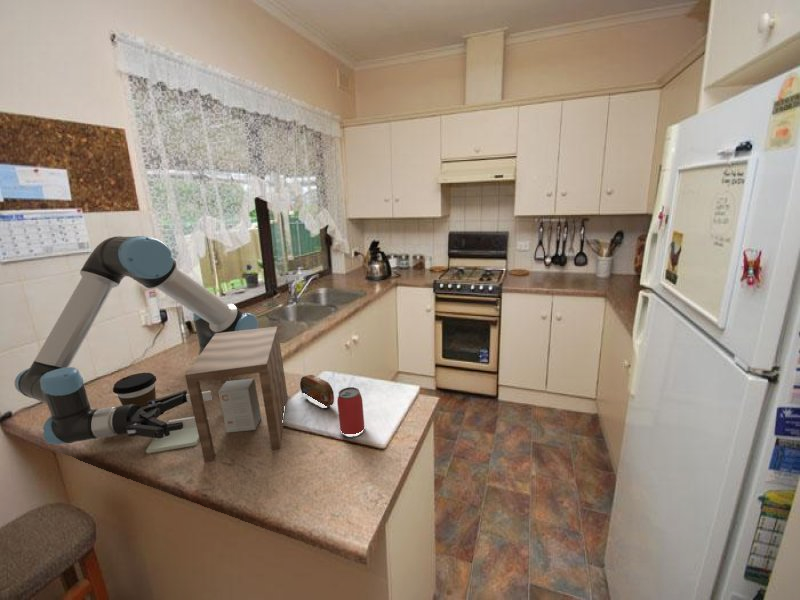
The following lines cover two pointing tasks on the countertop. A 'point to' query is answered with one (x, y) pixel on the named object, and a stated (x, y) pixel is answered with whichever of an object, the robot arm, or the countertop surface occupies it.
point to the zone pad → (175, 440)
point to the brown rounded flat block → (317, 389)
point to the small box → (240, 405)
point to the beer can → (350, 411)
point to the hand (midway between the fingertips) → (204, 407)
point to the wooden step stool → (240, 358)
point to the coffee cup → (136, 389)
